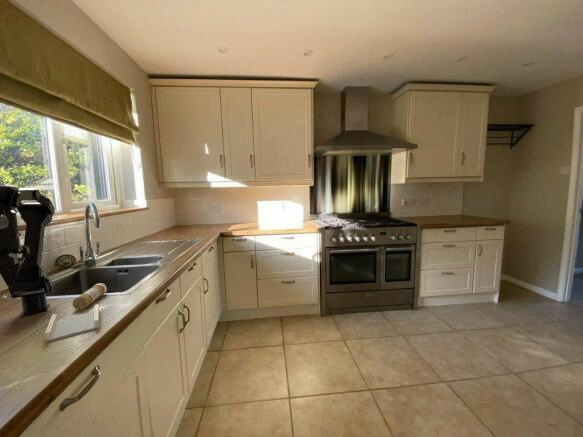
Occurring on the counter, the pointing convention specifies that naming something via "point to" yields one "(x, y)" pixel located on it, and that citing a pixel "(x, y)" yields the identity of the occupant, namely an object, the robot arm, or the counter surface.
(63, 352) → the counter surface
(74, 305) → the sprinkles bottle
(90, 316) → the cradle board
